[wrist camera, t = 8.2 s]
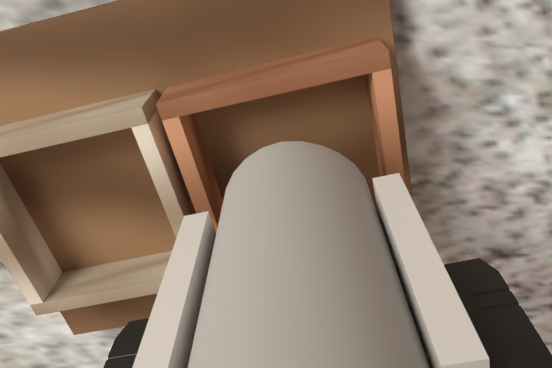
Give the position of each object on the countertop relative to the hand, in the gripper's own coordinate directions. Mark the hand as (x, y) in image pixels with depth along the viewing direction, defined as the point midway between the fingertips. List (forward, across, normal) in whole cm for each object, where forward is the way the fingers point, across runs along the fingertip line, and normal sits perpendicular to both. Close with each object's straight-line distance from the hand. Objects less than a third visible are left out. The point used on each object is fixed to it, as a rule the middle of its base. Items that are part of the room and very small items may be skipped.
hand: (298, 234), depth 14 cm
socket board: (+6, -4, 0) cm, 7 cm away
